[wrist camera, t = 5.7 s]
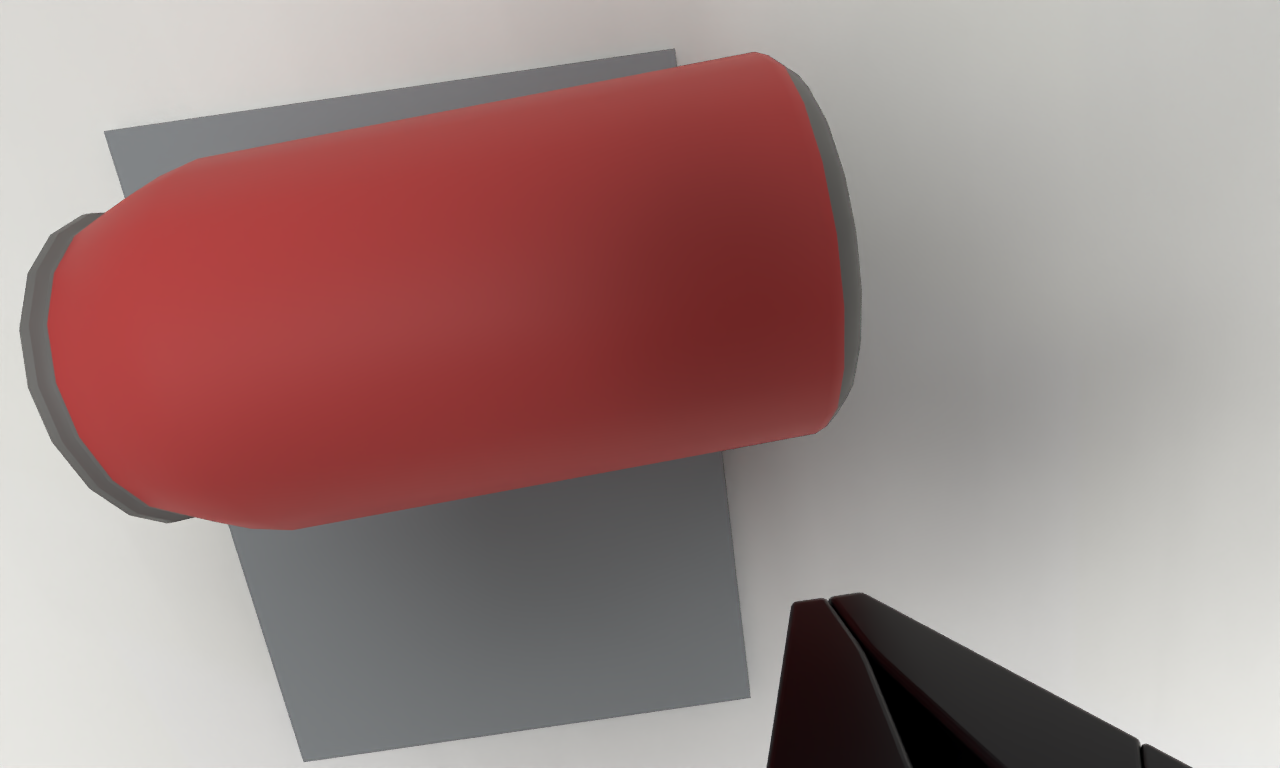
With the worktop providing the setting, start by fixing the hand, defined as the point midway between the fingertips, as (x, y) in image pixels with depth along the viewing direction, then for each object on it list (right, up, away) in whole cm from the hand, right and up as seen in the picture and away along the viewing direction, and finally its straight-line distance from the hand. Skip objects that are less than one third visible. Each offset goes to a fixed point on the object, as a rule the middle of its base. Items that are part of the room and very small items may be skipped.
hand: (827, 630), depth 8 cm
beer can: (+1, +5, +4) cm, 7 cm away
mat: (-6, +1, +9) cm, 11 cm away
